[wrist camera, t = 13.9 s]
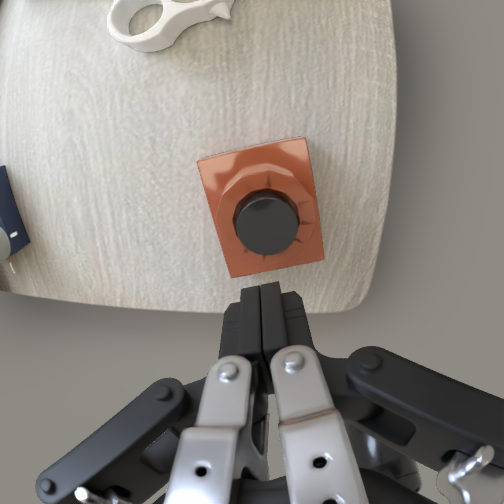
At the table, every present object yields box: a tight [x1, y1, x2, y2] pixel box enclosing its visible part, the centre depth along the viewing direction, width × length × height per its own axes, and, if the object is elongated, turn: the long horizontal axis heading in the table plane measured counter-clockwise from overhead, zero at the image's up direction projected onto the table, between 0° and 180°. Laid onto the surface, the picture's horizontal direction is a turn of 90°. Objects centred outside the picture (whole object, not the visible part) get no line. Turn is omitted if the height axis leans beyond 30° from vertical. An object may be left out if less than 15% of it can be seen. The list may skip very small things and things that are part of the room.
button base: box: [197, 136, 325, 278], centre depth 21 cm, size 10×8×4 cm
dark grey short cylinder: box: [236, 192, 298, 255], centre depth 18 cm, size 4×4×2 cm
